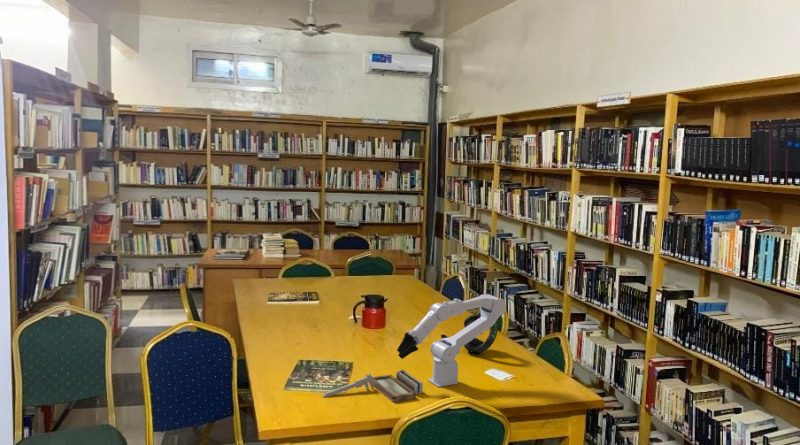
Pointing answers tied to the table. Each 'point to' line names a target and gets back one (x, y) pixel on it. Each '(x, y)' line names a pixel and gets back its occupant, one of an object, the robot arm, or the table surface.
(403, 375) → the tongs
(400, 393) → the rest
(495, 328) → the headset
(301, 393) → the table surface
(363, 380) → the caliper
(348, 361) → the table surface
